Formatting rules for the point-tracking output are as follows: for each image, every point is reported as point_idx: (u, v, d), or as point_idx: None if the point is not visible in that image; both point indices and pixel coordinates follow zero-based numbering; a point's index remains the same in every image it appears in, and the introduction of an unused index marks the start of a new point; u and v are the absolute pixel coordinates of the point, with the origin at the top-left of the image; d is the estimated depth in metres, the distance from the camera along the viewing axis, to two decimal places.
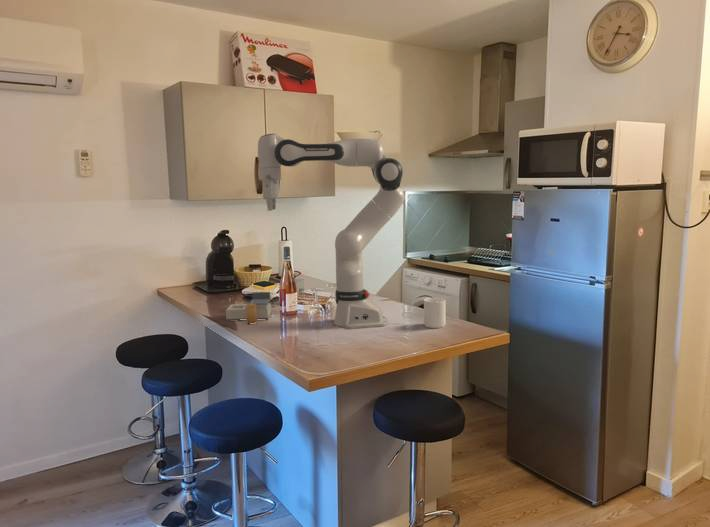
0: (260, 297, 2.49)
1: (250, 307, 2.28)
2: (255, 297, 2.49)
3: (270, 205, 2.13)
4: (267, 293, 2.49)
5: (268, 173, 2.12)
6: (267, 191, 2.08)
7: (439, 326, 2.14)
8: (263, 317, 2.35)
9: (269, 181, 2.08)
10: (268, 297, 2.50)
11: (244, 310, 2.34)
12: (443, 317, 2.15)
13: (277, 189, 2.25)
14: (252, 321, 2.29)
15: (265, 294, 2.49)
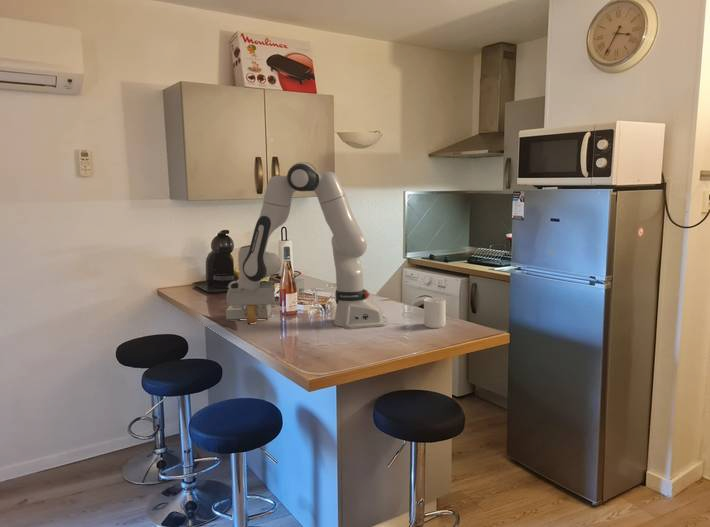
0: None
1: (250, 307, 2.28)
2: None
3: (260, 309, 2.30)
4: None
5: (260, 281, 2.28)
6: (274, 296, 2.29)
7: (439, 326, 2.14)
8: (263, 317, 2.35)
9: None
10: None
11: None
12: (443, 317, 2.15)
13: None
14: (252, 321, 2.29)
15: None
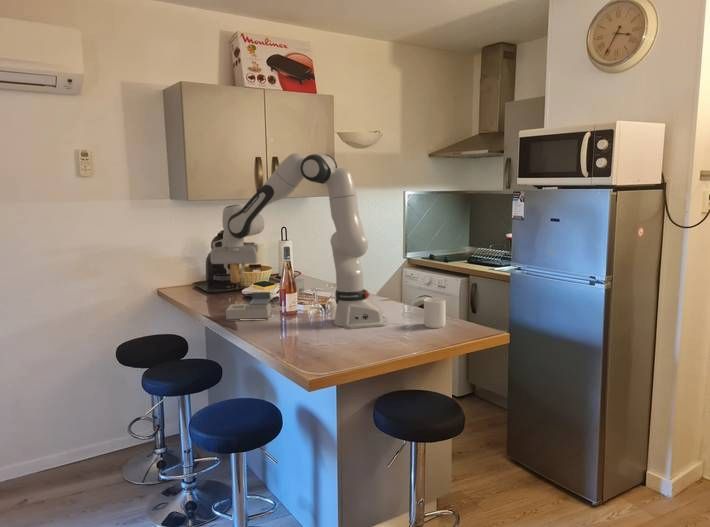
0: (260, 297, 2.49)
1: (233, 266, 2.34)
2: (255, 297, 2.49)
3: None
4: (267, 293, 2.49)
5: (243, 240, 2.35)
6: (257, 256, 2.36)
7: (439, 326, 2.14)
8: (263, 317, 2.35)
9: None
10: (268, 297, 2.50)
11: (244, 310, 2.34)
12: (443, 317, 2.15)
13: None
14: (235, 279, 2.35)
15: (265, 294, 2.49)
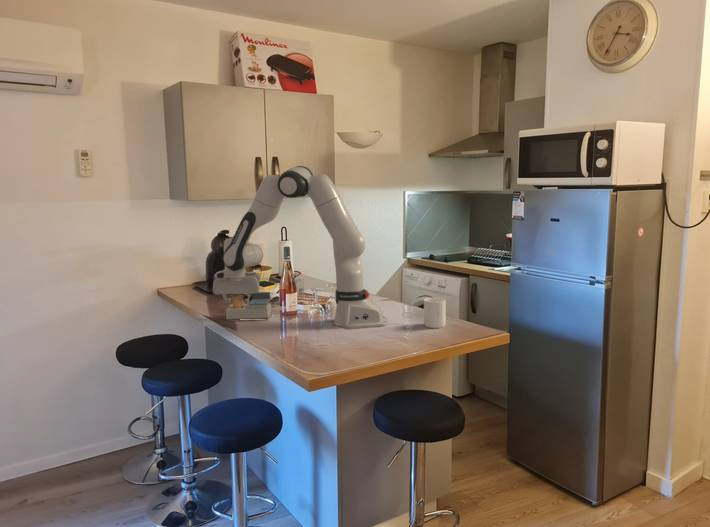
0: (260, 297, 2.49)
1: (236, 300, 2.37)
2: (255, 297, 2.49)
3: None
4: (267, 293, 2.49)
5: (245, 270, 2.37)
6: (258, 286, 2.39)
7: (439, 326, 2.14)
8: (263, 317, 2.35)
9: None
10: (268, 297, 2.50)
11: (244, 310, 2.34)
12: (443, 317, 2.15)
13: None
14: None
15: (265, 294, 2.49)
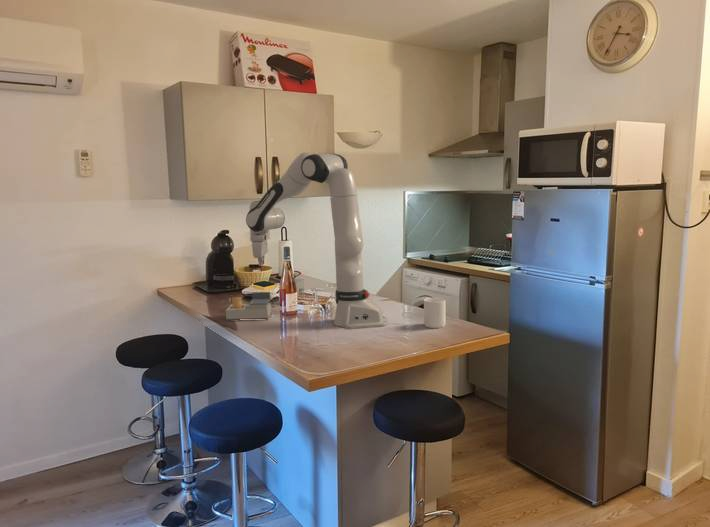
0: (260, 297, 2.49)
1: (236, 300, 2.37)
2: (255, 297, 2.49)
3: None
4: (267, 293, 2.49)
5: None
6: None
7: (439, 326, 2.14)
8: (263, 317, 2.35)
9: None
10: (268, 297, 2.50)
11: (244, 310, 2.34)
12: (443, 317, 2.15)
13: None
14: None
15: (265, 294, 2.49)
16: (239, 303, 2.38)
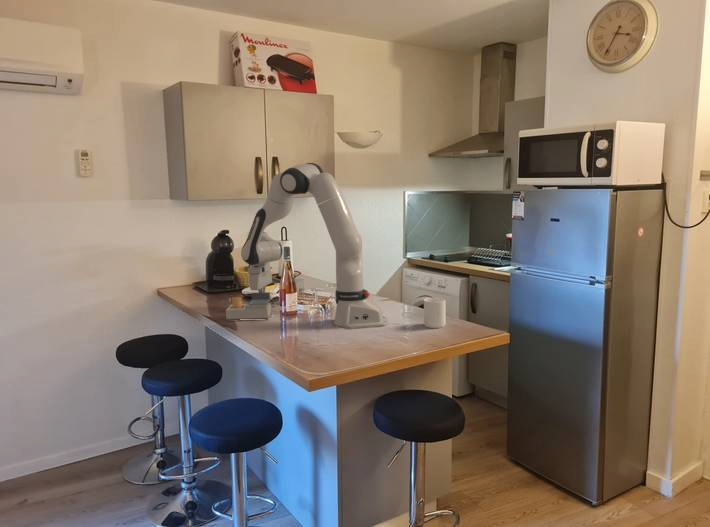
0: (260, 297, 2.49)
1: (236, 300, 2.37)
2: (255, 297, 2.49)
3: None
4: (267, 293, 2.48)
5: None
6: None
7: (439, 326, 2.14)
8: (263, 317, 2.35)
9: None
10: (268, 297, 2.49)
11: (244, 310, 2.34)
12: (443, 317, 2.15)
13: None
14: None
15: (265, 295, 2.48)
16: (239, 303, 2.38)
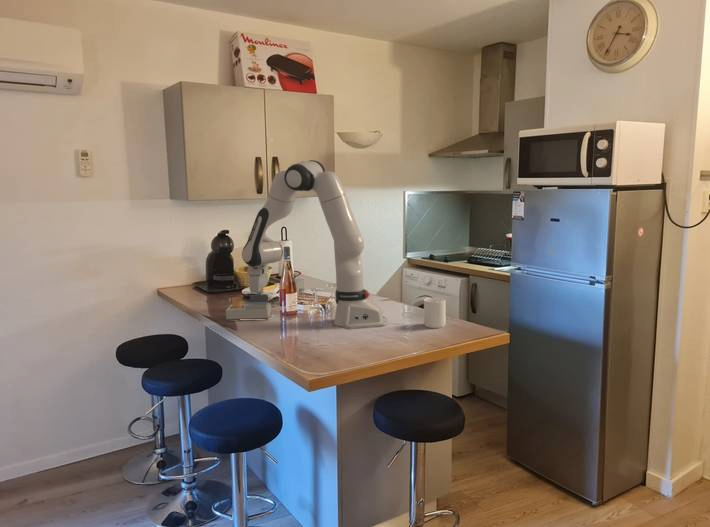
0: (258, 300, 2.43)
1: (236, 300, 2.37)
2: (253, 300, 2.43)
3: None
4: (265, 296, 2.43)
5: None
6: None
7: (439, 326, 2.14)
8: (263, 317, 2.35)
9: None
10: (266, 300, 2.44)
11: (244, 310, 2.34)
12: (443, 317, 2.15)
13: None
14: None
15: (263, 297, 2.43)
16: (239, 303, 2.38)
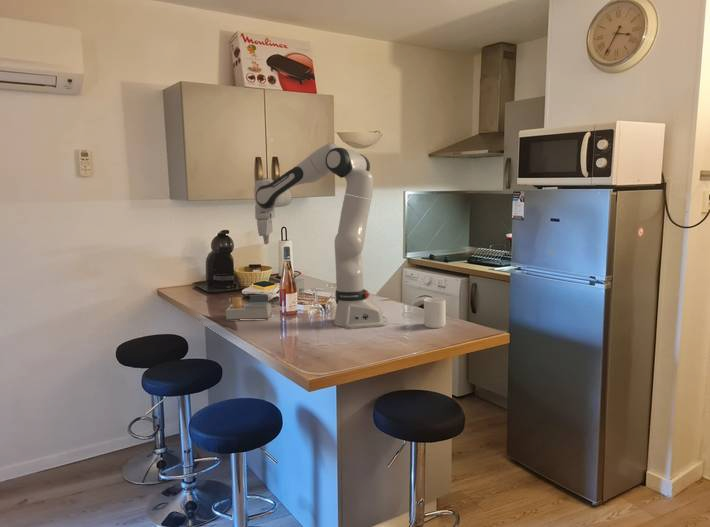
0: (258, 300, 2.44)
1: (236, 300, 2.37)
2: (253, 300, 2.43)
3: None
4: (265, 296, 2.43)
5: None
6: None
7: (439, 326, 2.14)
8: (263, 317, 2.35)
9: None
10: (266, 300, 2.44)
11: (244, 310, 2.34)
12: (443, 317, 2.15)
13: None
14: None
15: (263, 297, 2.43)
16: (239, 303, 2.38)
